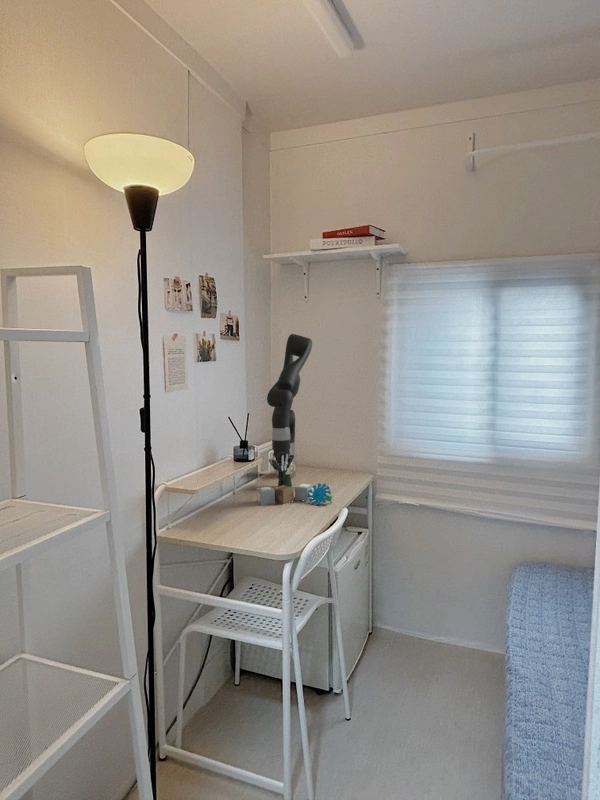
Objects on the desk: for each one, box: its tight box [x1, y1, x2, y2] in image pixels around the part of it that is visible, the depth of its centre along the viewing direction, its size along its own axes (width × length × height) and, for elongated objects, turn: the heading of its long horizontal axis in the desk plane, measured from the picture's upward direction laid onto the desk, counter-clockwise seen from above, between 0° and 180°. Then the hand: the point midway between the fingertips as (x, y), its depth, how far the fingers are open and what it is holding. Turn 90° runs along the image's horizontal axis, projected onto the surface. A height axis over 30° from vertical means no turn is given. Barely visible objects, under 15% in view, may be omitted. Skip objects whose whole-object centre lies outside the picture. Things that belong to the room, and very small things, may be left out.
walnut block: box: [272, 485, 295, 505], centre depth 222 cm, size 6×6×6 cm
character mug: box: [273, 462, 296, 487], centre depth 243 cm, size 11×7×13 cm, turn 63°
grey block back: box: [294, 483, 315, 502], centre depth 225 cm, size 6×6×6 cm
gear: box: [308, 482, 334, 506], centre depth 220 cm, size 11×6×10 cm
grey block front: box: [256, 486, 276, 506], centre depth 222 cm, size 6×6×6 cm
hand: (282, 479), depth 222 cm, fingers closed
